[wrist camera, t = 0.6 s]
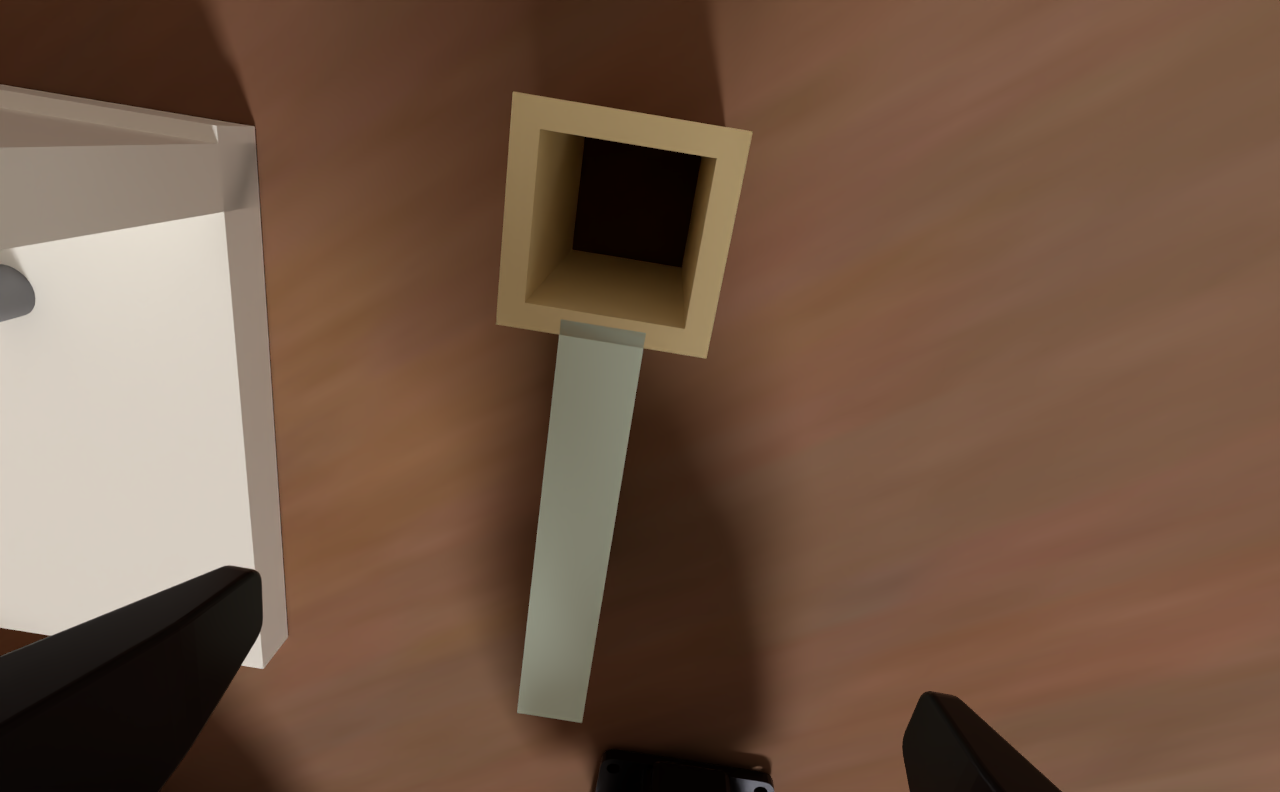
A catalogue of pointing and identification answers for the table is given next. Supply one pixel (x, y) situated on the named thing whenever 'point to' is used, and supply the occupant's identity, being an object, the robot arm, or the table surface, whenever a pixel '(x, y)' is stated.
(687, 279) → the square socket tool
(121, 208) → the l-shaped pin bracket
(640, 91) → the table surface
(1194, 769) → the table surface
